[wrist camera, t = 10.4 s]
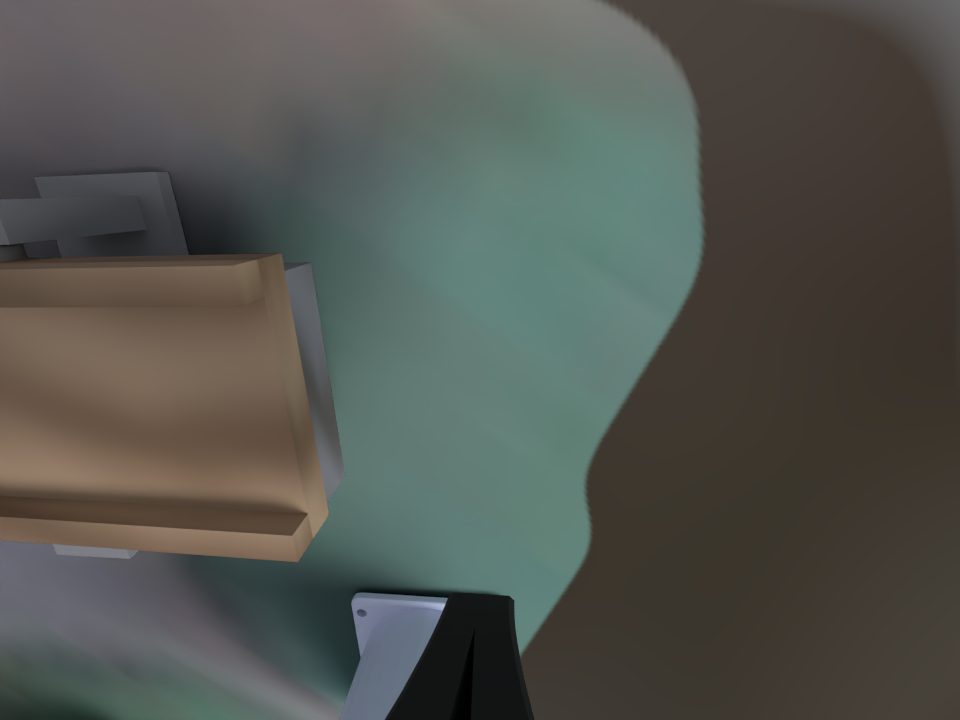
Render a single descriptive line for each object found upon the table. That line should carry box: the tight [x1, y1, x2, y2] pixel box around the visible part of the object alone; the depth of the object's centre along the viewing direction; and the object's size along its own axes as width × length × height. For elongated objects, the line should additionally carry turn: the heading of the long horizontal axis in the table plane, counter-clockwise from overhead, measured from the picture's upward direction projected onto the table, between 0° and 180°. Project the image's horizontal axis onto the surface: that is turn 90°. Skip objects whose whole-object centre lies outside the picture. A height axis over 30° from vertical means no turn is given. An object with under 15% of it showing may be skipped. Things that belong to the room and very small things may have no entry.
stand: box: [0, 172, 189, 559], centre depth 17 cm, size 14×5×6 cm, turn 2°
